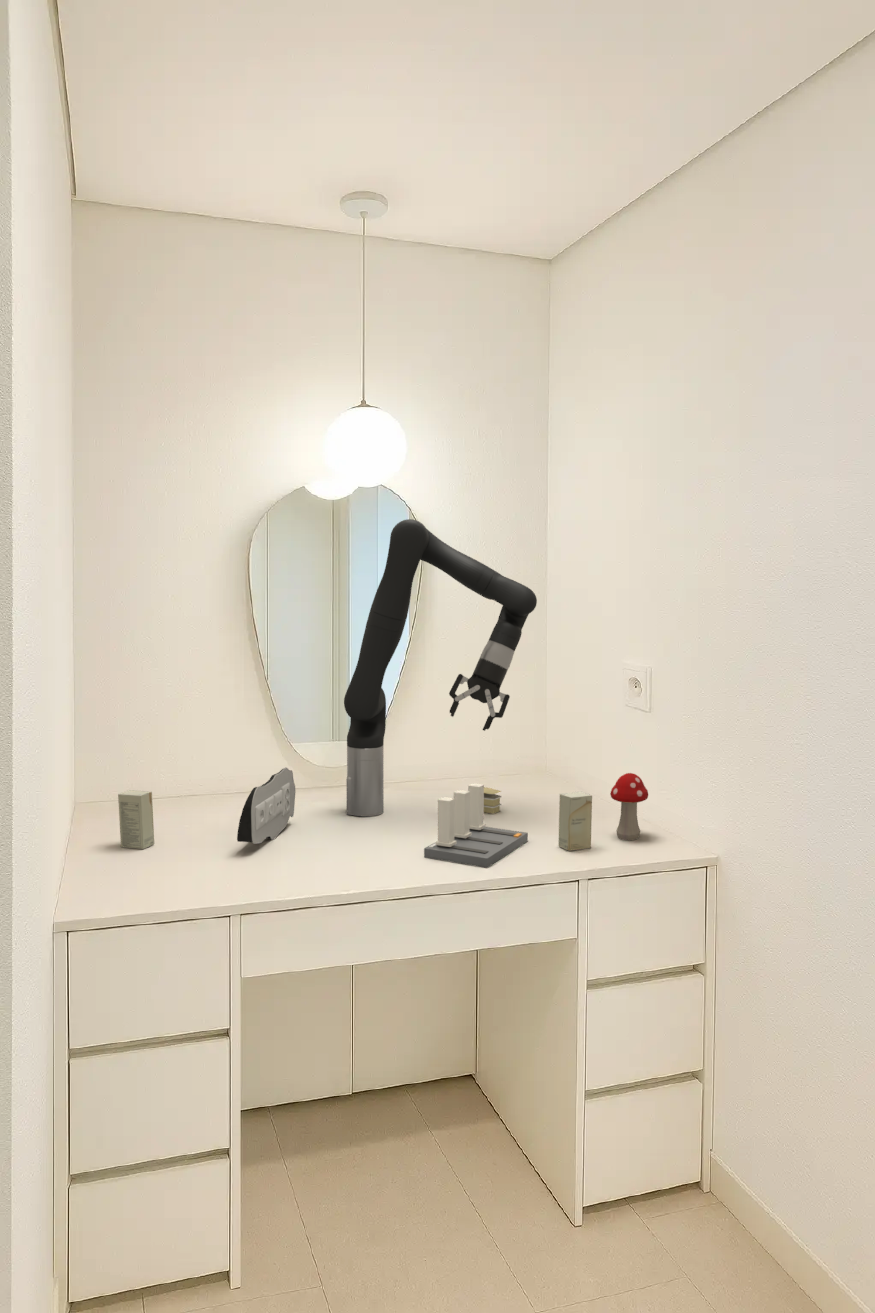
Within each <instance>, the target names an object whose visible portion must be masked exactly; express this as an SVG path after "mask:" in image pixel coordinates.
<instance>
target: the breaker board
mask: <svg viewBox="0 0 875 1313" xmlns="http://www.w3.org/2000/svg"><path fill="white" fill-rule="evenodd" d="M469 827H470V791H468V790H463V789H462V790H461V789H457V790H456V791H453V798H451V797H447V796H446V797H445V796H442V797H440V798H439V799H437V841H435V842H433V843H431V844H430V845H427V846H426V847H424V849H423V857H424V858H426V859H434V860H437V861H444V862H451V863H455V864H462V865H468V866H475V867H481V868H485V869H486V868H487V869H488V868H489V867H491V866H493V865H494V864H495V863H497V862H498V861H500V860H501V859H502V858H504V857H506V856H507V855H509V854H510V853H513V851H515V850H517V849H518V848H520V847H521V846H523V845H524V844H526V843H527V842H528V841H529V839H528V838H529V837H528V835H529V834H528V832H524V831H520V830H519V831H517V830H511V829H507V828H506V829H505V828H497V827H493V826H492V827H491V826H486V827H485V828H483V829H481V830H475V829H469Z"/></svg>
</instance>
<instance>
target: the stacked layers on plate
mask: <svg viewBox="0 0 875 1313" xmlns="http://www.w3.org/2000/svg"><path fill="white" fill-rule="evenodd" d="M501 792H502V790H498V789H495V788H490V787H486V786H484V813H487V814H492V815H494V814H496V813H499V812H500V811H501V810H500V809H501V806H502V803H501V798H502V795H499V794H498V793H501Z"/></svg>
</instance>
